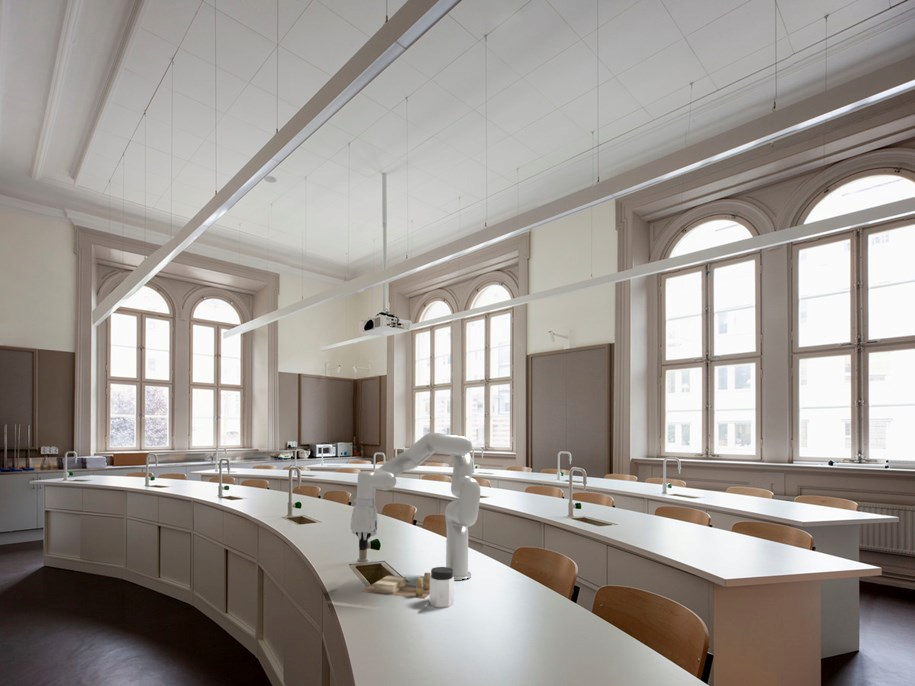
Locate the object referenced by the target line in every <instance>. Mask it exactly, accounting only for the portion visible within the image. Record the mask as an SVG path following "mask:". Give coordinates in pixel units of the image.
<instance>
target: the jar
mask: <svg viewBox="0 0 915 686" xmlns="http://www.w3.org/2000/svg"><path fill="white" fill-rule="evenodd" d="M454 585H455V580H454V577H453V569H451V568H448V567H446V566H437V567H432V568H431V570H430V593H429V595H428V596H429V597H428V598H429V599H428V600H429V602H428V604H429V605H430V606H433V607H435V608H449V607H451V606H452V605H453V604H454V601H455V600H454V597H455V596H454V595H455V594H454V593H455V591H454V590H455V588H454V587H455V586H454Z"/></svg>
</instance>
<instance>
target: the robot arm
mask: <svg viewBox="0 0 915 686" xmlns="http://www.w3.org/2000/svg"><path fill="white" fill-rule="evenodd" d="M472 448H473V445H472V441H471V440H470V439H469V438H468V437H466V436H463V435H453V434H447V433H440V432H428V433H426V434H425V435H423V436H422V437H421V438H420V439H419V440H417V441H415V443H413V444H412V445H411V446H409V447H408V448H407V449H406V450H404V451H403V452H401V453H399V454H398V455H396V456H394V457H393V458H391V459H389V460H388V461H386V462H385V463H384V464H383V465H381V466H380V467H379V468H377V469H376V470H375V471H366V470H365V471H364V470H363V471H359V473H358V475H357V482H356V483H357V485H356V497H355V498H354V499H353V503H355V505H354V506H353V510H352V513H351V521H350V530H351V533H352V534H353V535H356V536H357V538H358V541H359V543H358V547H359V551H366V550H367V549H368V545H369V539H370V538H371V537H374V536H377V530H378V510H377V506H376V491H377V490H378V491H380V490H381V491H390V490H392V489H393V488H394V487H395V486H396V485H397V484H396V483H397V478H396V477H398V475H400V474H401V473H404V472H406V471H410V470H411V471H412V470H413V469H415V468H417V467H419V466H420V465H422V464H423V463H424V462H425V461H427V460H428V459H429V458H430V457H431V456H433V454H440V455H447V456H448V455H449V456H450V457H451V459H452V464H453V465H452V466H453V469H452V477H451V485H450V492H451V494H452V495H453V496H454V497H456V498H458V500H453V501H450V502H449V503H448V504H447V505H446V507H445V512H444V514H445V515H444V516H445V525H446V544H445V546H446V547H445V549H446V551H445V553H446V555H445V556H446V557H445V567H448V568H451V569H453V577H454V581H463V580H462V579H465V580H468V579H467V578H469V579H471V578H470V577H472V573H471V572H470V571H469V529H468V528H469V527H472V526H474V525H475V524H476V522H477V519H478V515H479V510H480V502H481V501H480V500H481V485H480V483H479V482H478V481H477V480H476V479H475V478H473V477H472V476H473V459H472V455H471V452H472Z"/></svg>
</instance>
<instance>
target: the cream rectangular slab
mask: <svg viewBox="0 0 915 686" xmlns="http://www.w3.org/2000/svg"><path fill="white" fill-rule="evenodd" d="M406 580H407V577H405V576H397V575H386V576H384V577H382V578H380V579H379V580H377V581H376V583H375V582H374V583H373V584H374V592H381V593H389V594H394V593H395V592H397V591H398V590H399V589H401V588H402V587H404V586H405V585H407V583H406V582H407V581H406ZM381 593H380V594H381ZM389 594H388V595H389Z"/></svg>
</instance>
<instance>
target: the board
mask: <svg viewBox="0 0 915 686" xmlns="http://www.w3.org/2000/svg"><path fill="white" fill-rule="evenodd" d="M423 574H424V576H423V577H417V578H416V580H415V581H416V583H415V584H416V585H413V584H406V585H405V586H404V587H402V588H401V589H399V590H398V591H397V592H395V593H394V594H389V593H381V592H374V583H376V582H377V581H376V582H374V583H372V584H370V585H369V586H367V587H365V588H363V589H362V590H361V592H367V593H373V594H381V595H382V594H383V595H389V596H390V595H392V596H396V597H397V596H399V597H406V598H407V597H408V598H414V599H423V600H424V599H425V598H427V597H428V596H429V593H430V577H431V572H424V573H423Z"/></svg>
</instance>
